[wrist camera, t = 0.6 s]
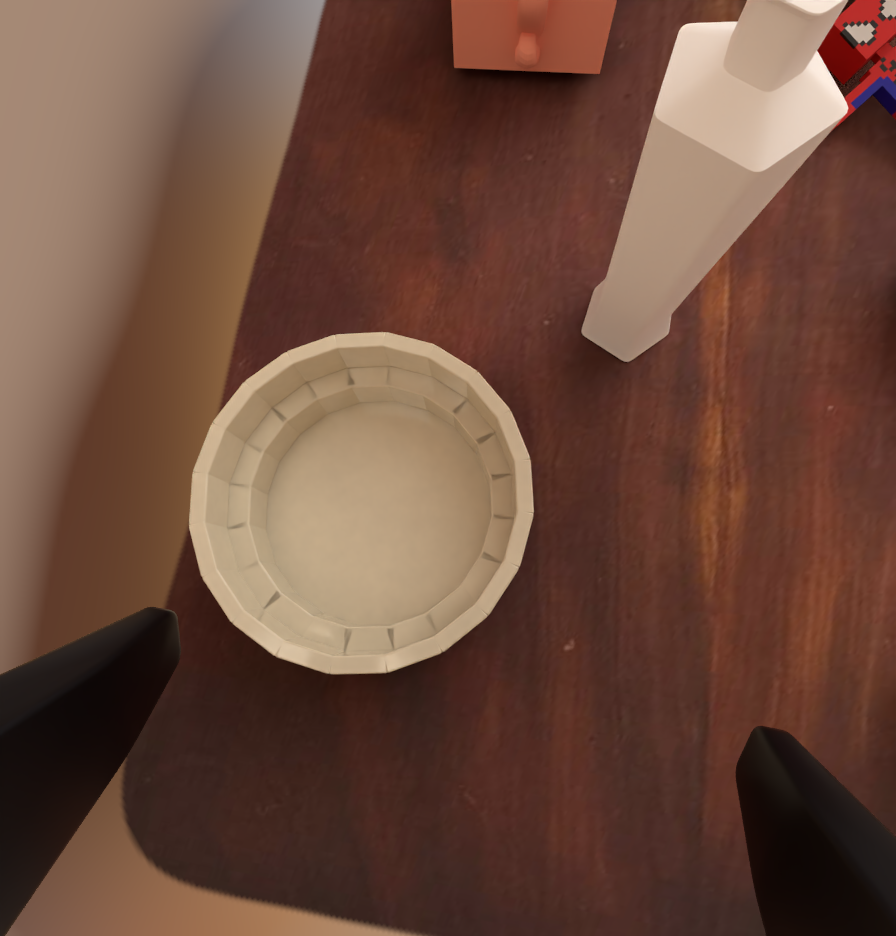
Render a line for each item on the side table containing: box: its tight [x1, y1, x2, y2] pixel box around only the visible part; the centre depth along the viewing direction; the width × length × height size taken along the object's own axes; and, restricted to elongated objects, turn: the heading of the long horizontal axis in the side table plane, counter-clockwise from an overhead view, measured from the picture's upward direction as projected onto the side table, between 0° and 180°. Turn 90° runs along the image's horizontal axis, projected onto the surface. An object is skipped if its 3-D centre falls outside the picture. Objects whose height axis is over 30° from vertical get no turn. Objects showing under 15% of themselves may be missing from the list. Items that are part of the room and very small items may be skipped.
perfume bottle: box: [581, 0, 848, 362], centre depth 19 cm, size 5×4×15 cm
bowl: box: [189, 332, 534, 675], centre depth 23 cm, size 12×12×4 cm
